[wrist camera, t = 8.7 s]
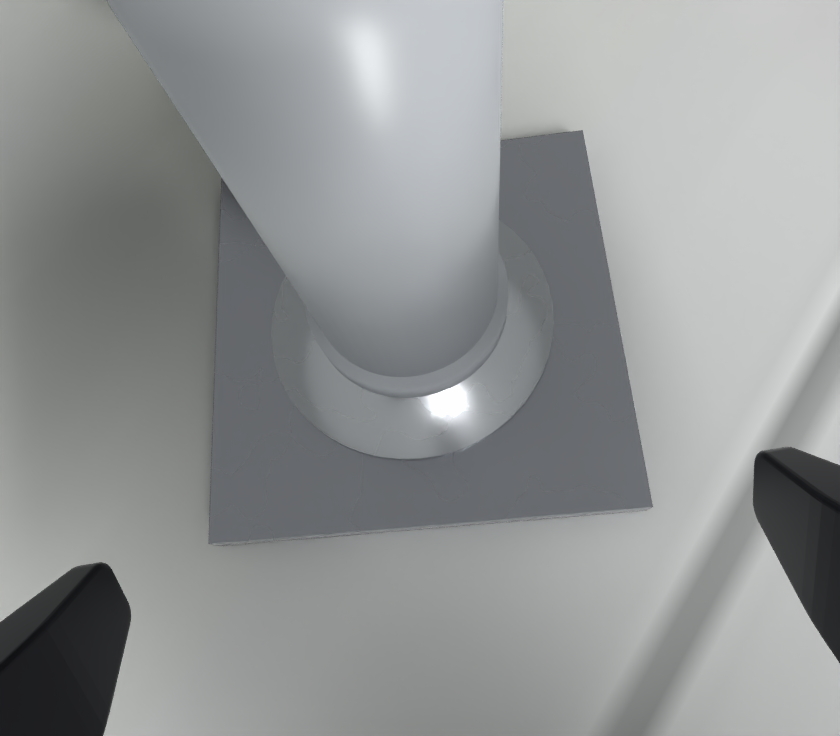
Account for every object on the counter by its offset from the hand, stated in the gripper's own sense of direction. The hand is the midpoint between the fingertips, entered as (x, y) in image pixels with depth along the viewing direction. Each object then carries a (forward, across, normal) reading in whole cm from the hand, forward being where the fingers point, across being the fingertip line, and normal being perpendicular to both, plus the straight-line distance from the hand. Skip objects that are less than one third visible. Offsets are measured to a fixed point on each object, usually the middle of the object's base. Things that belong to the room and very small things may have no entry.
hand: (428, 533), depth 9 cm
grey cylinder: (+11, 0, +1) cm, 11 cm away
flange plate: (+12, 0, +2) cm, 12 cm away
